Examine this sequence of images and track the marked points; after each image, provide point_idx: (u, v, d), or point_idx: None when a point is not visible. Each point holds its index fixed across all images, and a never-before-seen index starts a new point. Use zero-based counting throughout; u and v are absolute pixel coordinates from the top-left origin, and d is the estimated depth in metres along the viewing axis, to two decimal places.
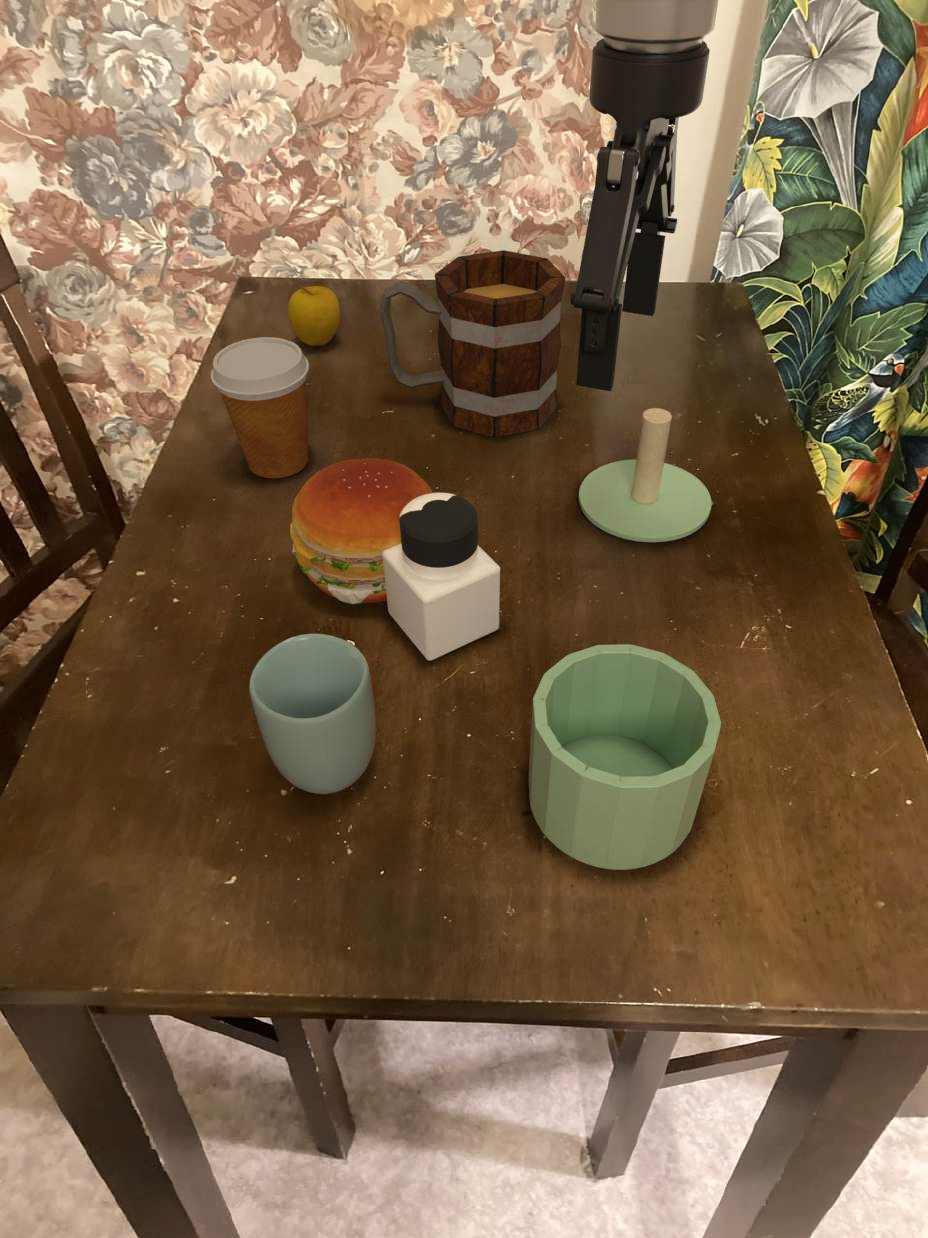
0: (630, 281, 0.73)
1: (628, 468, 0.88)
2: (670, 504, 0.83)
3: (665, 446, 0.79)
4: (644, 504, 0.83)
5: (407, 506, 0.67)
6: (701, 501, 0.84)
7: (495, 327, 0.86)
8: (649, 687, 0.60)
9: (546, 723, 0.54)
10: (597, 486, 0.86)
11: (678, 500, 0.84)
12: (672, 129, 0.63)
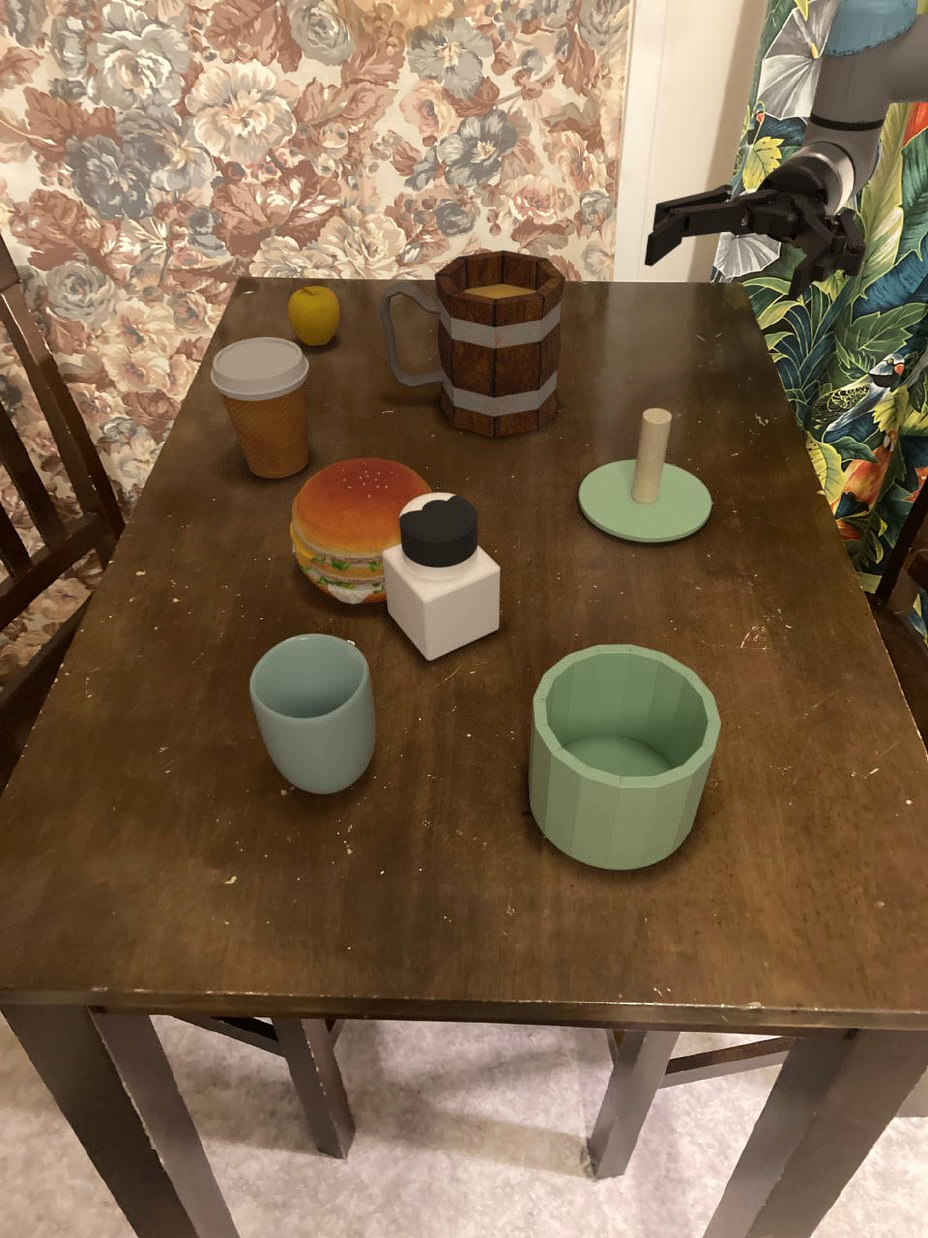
0: None
1: (628, 468, 0.88)
2: (670, 504, 0.83)
3: (665, 446, 0.79)
4: (644, 504, 0.83)
5: (407, 506, 0.67)
6: (701, 501, 0.84)
7: (495, 327, 0.86)
8: (649, 687, 0.60)
9: (546, 723, 0.54)
10: (597, 486, 0.86)
11: (678, 500, 0.84)
12: (836, 213, 0.82)
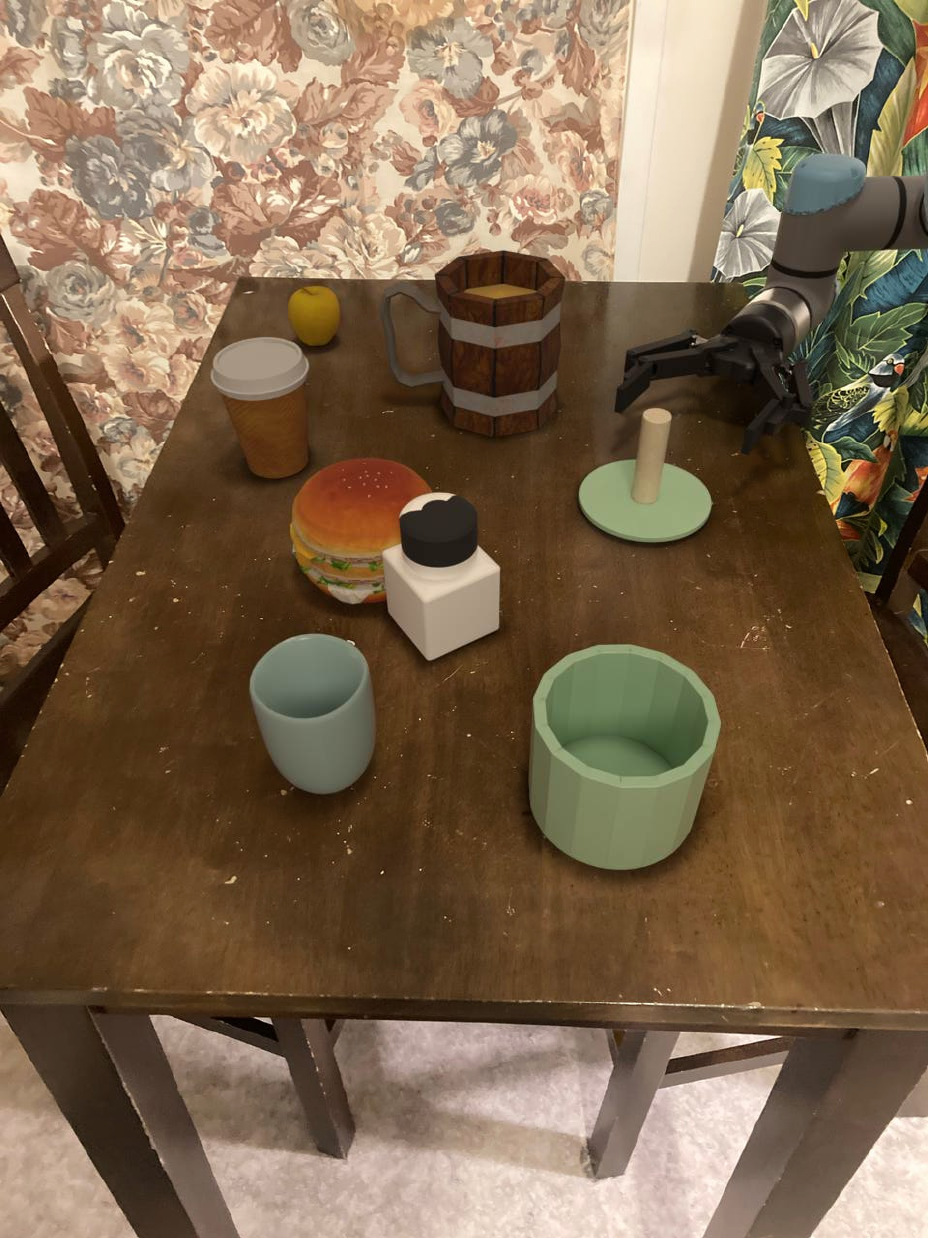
0: None
1: (628, 468, 0.88)
2: (670, 504, 0.83)
3: (665, 446, 0.79)
4: (644, 504, 0.83)
5: (407, 506, 0.67)
6: (701, 501, 0.84)
7: (495, 327, 0.86)
8: (649, 687, 0.60)
9: (546, 723, 0.54)
10: (597, 486, 0.86)
11: (678, 500, 0.84)
12: None
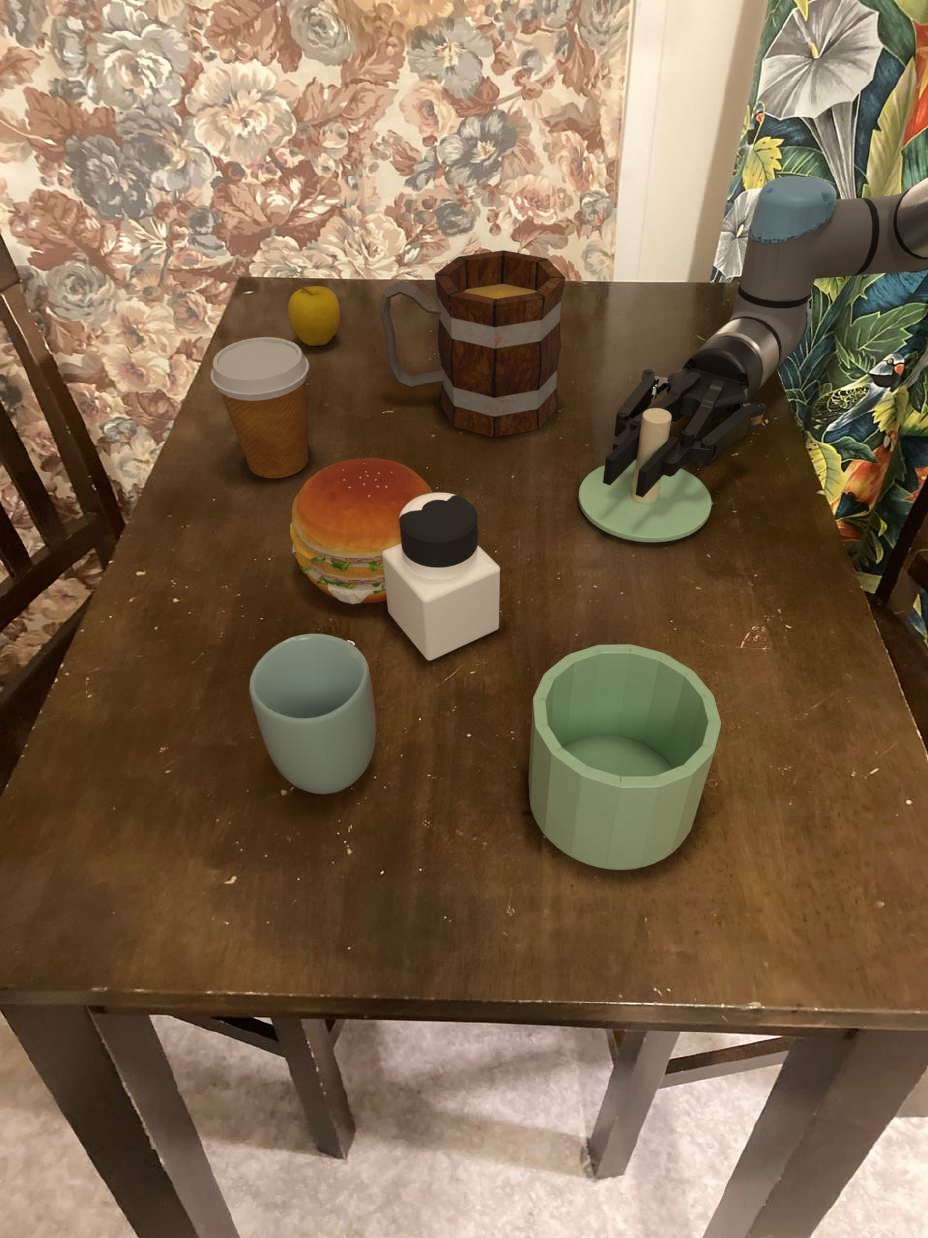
0: None
1: (628, 468, 0.88)
2: (670, 504, 0.83)
3: None
4: (644, 504, 0.83)
5: (407, 506, 0.67)
6: (701, 501, 0.84)
7: (495, 327, 0.86)
8: (649, 687, 0.60)
9: (546, 723, 0.54)
10: (597, 486, 0.86)
11: (678, 500, 0.84)
12: (744, 403, 0.84)
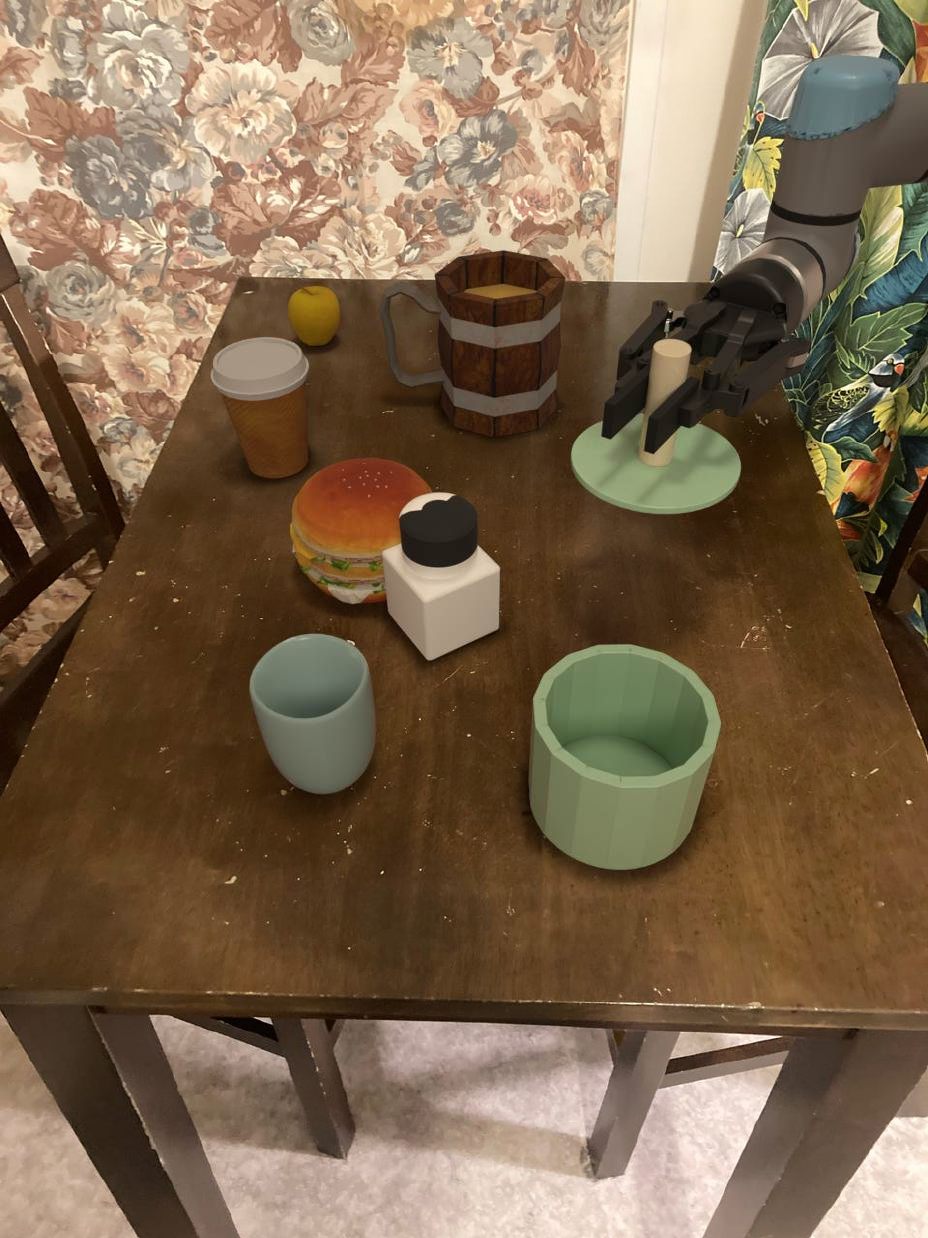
0: None
1: (634, 424, 0.69)
2: (688, 467, 0.65)
3: None
4: (654, 467, 0.65)
5: (407, 506, 0.67)
6: (727, 463, 0.65)
7: (495, 327, 0.86)
8: (649, 687, 0.60)
9: (546, 723, 0.54)
10: (594, 445, 0.67)
11: (698, 462, 0.66)
12: (782, 338, 0.66)
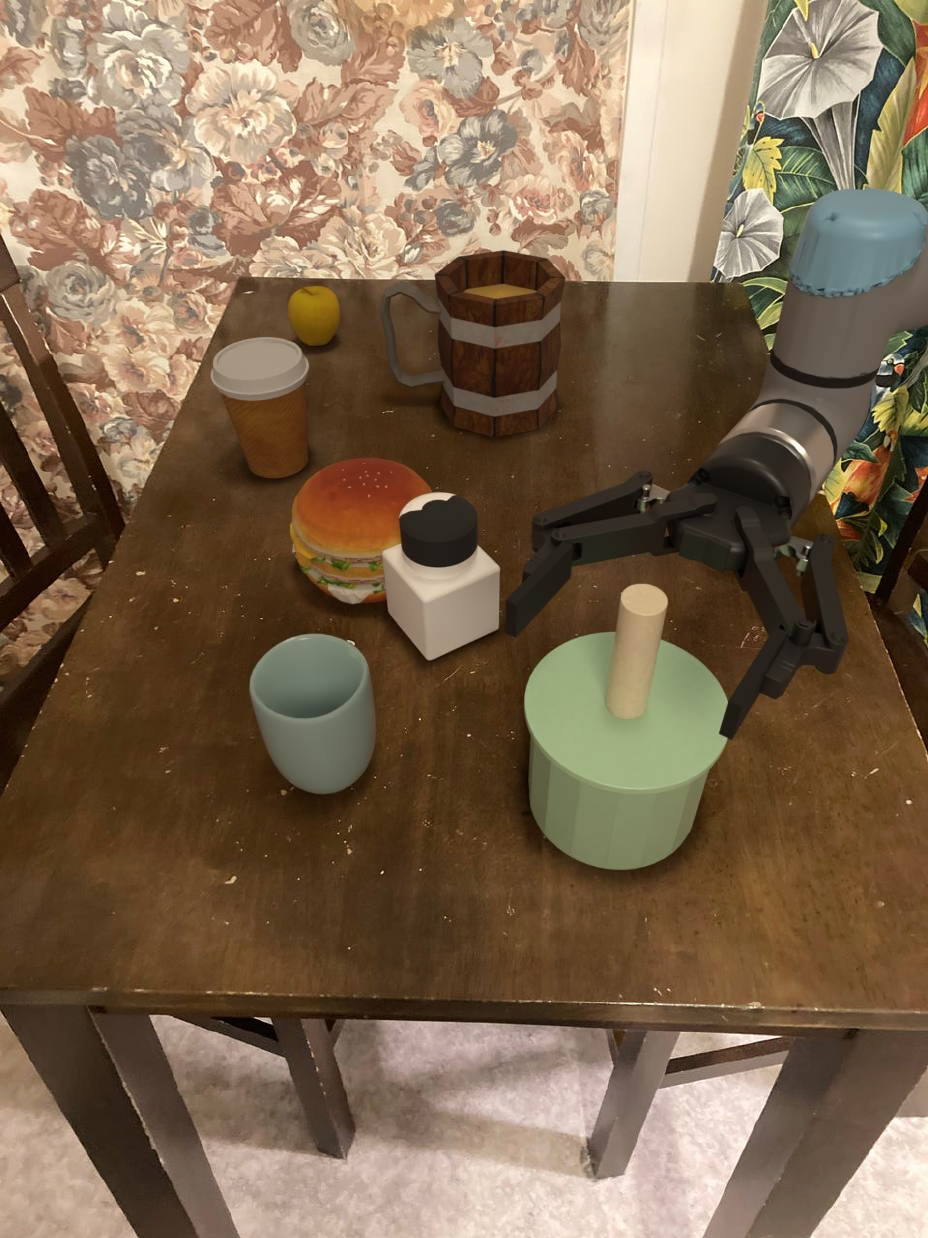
0: None
1: (602, 649, 0.58)
2: (666, 720, 0.53)
3: (657, 644, 0.49)
4: (625, 720, 0.53)
5: (407, 506, 0.67)
6: (714, 714, 0.53)
7: (495, 327, 0.86)
8: None
9: None
10: (553, 683, 0.56)
11: (678, 712, 0.54)
12: (804, 544, 0.53)
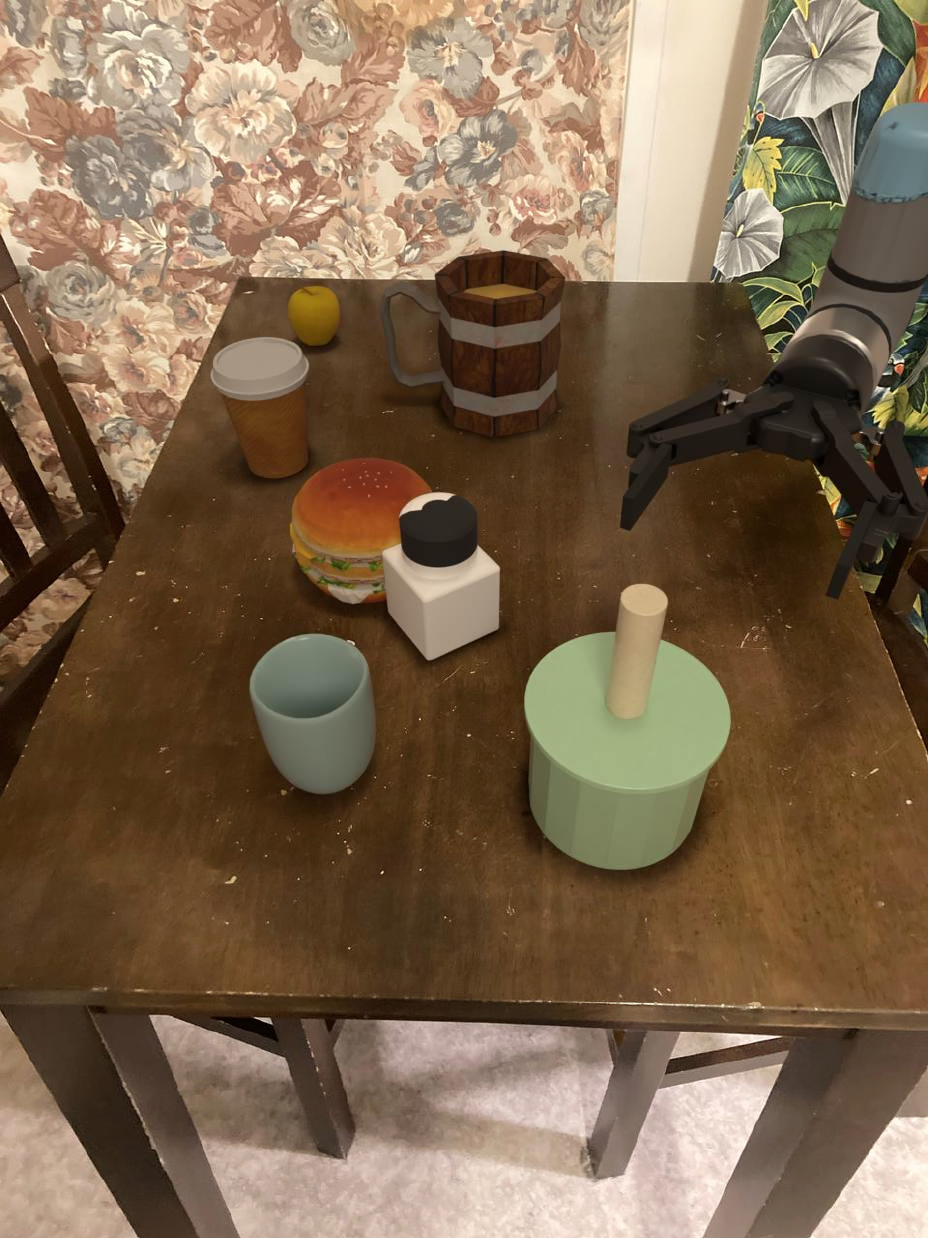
0: None
1: (602, 649, 0.58)
2: (666, 720, 0.53)
3: (657, 644, 0.49)
4: (625, 720, 0.53)
5: (407, 506, 0.67)
6: (714, 714, 0.53)
7: (495, 327, 0.86)
8: None
9: None
10: (553, 683, 0.56)
11: (678, 712, 0.54)
12: (877, 430, 0.60)
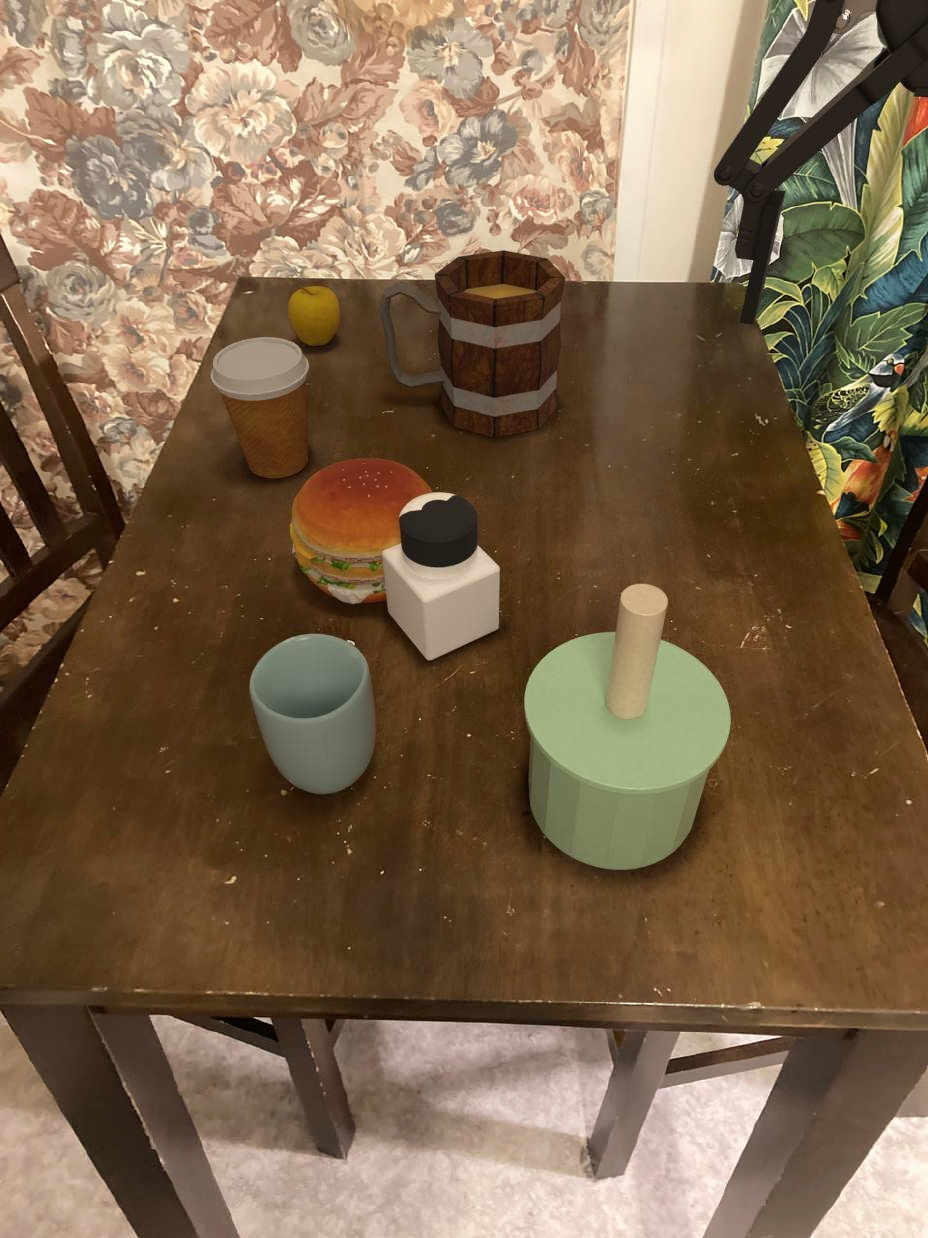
0: None
1: (602, 649, 0.58)
2: (666, 720, 0.53)
3: (657, 644, 0.49)
4: (625, 720, 0.53)
5: (407, 506, 0.67)
6: (714, 714, 0.53)
7: (495, 327, 0.86)
8: None
9: None
10: (553, 683, 0.56)
11: (678, 712, 0.54)
12: None
